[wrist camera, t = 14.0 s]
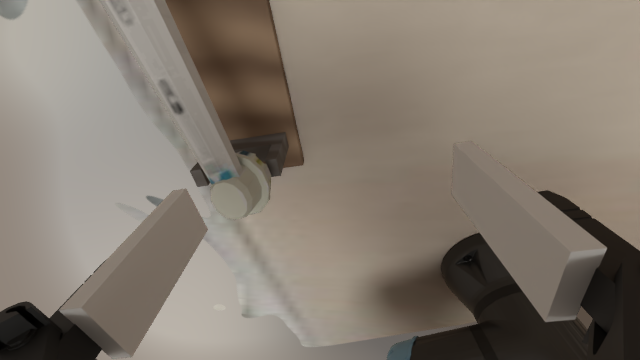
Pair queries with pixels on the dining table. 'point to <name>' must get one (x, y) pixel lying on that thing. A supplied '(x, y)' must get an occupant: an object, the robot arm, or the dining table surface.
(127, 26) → the grey handled tool
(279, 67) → the hook board
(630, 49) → the dining table surface
